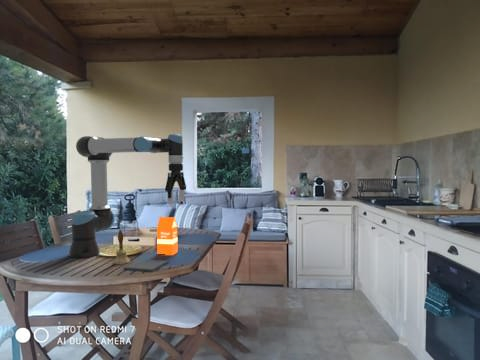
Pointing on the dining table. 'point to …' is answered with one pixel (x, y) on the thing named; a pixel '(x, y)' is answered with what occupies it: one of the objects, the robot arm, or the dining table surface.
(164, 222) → the orange juice
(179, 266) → the dining table surface
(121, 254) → the hand bell
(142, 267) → the place mat
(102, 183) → the robot arm
